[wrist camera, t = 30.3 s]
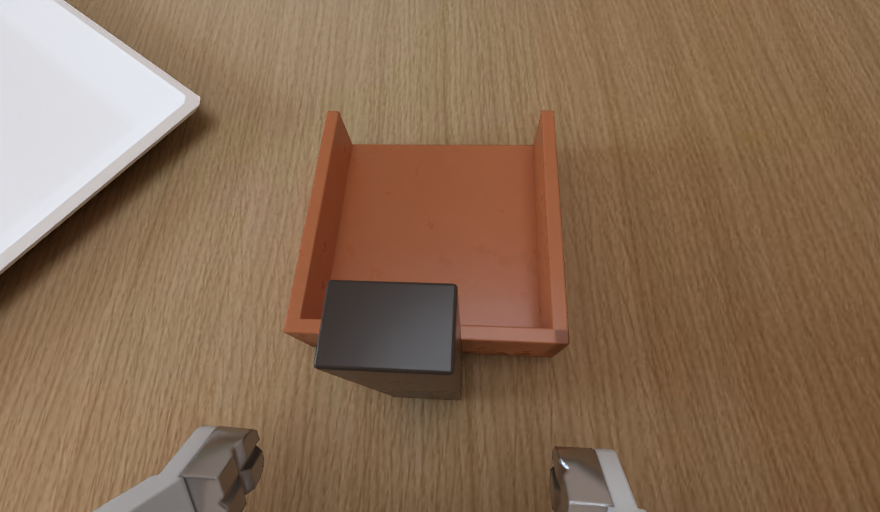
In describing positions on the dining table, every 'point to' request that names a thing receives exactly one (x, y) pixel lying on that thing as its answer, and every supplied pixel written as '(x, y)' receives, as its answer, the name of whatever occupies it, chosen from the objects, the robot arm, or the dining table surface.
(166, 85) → the plate
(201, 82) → the dining table surface
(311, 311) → the pan
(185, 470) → the robot arm
